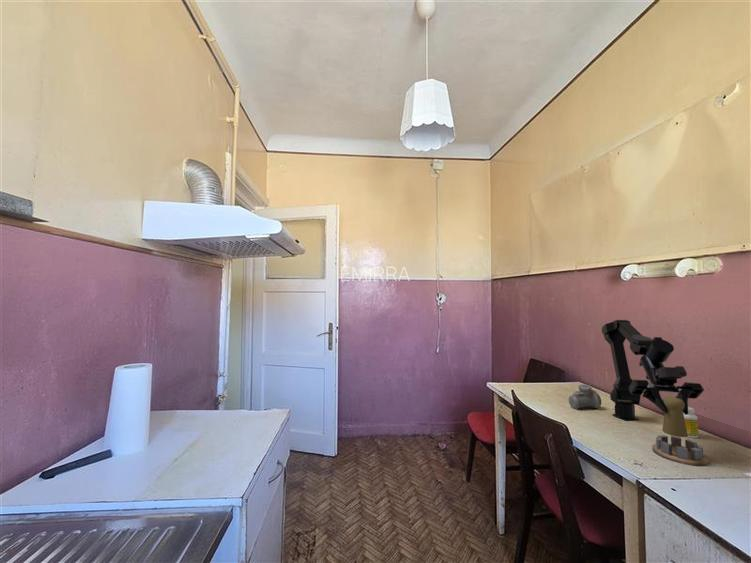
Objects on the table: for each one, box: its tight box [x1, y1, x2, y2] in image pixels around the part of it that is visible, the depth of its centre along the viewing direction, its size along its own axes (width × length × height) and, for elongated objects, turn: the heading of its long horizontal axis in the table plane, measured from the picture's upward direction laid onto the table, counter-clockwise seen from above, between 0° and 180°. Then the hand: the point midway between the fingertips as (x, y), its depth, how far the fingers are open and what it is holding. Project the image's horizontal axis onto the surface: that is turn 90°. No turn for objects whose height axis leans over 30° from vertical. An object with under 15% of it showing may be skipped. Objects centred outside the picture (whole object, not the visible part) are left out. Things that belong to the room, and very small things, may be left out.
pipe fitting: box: [567, 384, 602, 410], centre depth 149 cm, size 12×8×10 cm
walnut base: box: [651, 443, 710, 467], centre depth 103 cm, size 13×13×1 cm
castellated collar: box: [655, 434, 705, 461], centre depth 103 cm, size 11×11×3 cm
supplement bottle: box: [683, 406, 699, 439], centre depth 119 cm, size 5×5×10 cm
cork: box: [662, 396, 689, 438], centre depth 104 cm, size 6×6×11 cm
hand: (676, 413), depth 103 cm, fingers closed on cork, 5 cm apart
